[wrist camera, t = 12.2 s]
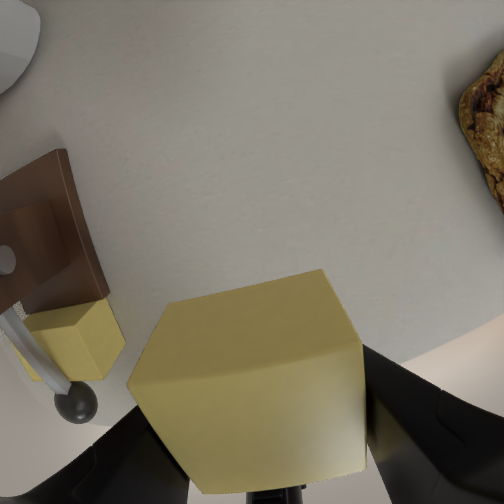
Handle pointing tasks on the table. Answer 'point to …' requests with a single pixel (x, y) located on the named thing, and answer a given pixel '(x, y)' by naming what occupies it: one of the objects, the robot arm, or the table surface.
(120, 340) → the butter
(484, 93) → the pastry
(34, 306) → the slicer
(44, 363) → the blade
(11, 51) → the can
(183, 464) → the butter pat
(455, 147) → the table surface
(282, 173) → the table surface
